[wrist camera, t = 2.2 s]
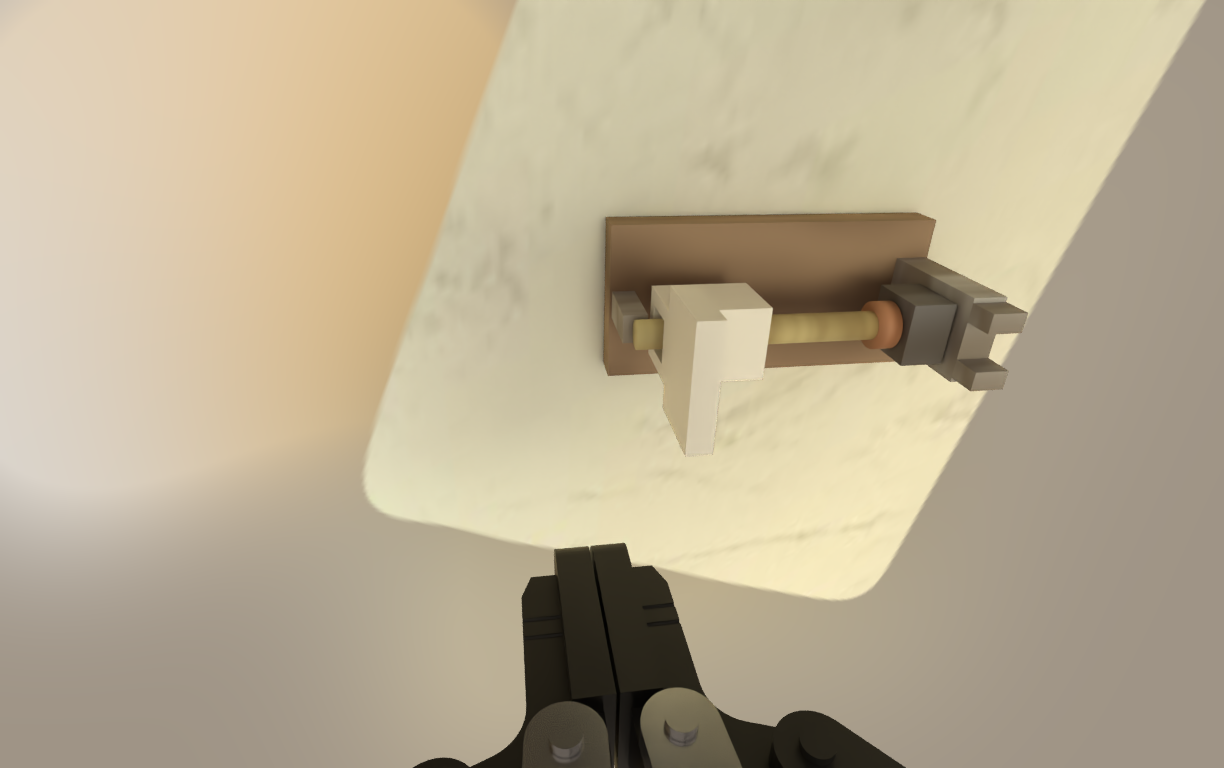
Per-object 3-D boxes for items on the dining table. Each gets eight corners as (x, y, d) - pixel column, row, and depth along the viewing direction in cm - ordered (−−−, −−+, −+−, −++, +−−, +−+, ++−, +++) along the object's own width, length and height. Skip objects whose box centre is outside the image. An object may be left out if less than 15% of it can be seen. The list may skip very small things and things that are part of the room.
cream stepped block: (652, 261, 26) (696, 321, 20) (748, 259, 26) (817, 317, 21) (647, 374, 28) (685, 456, 22) (735, 369, 29) (794, 449, 23)
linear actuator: (606, 217, 28) (642, 274, 21) (917, 212, 30) (1047, 263, 23) (603, 362, 31) (634, 455, 24) (885, 348, 34) (991, 430, 26)
